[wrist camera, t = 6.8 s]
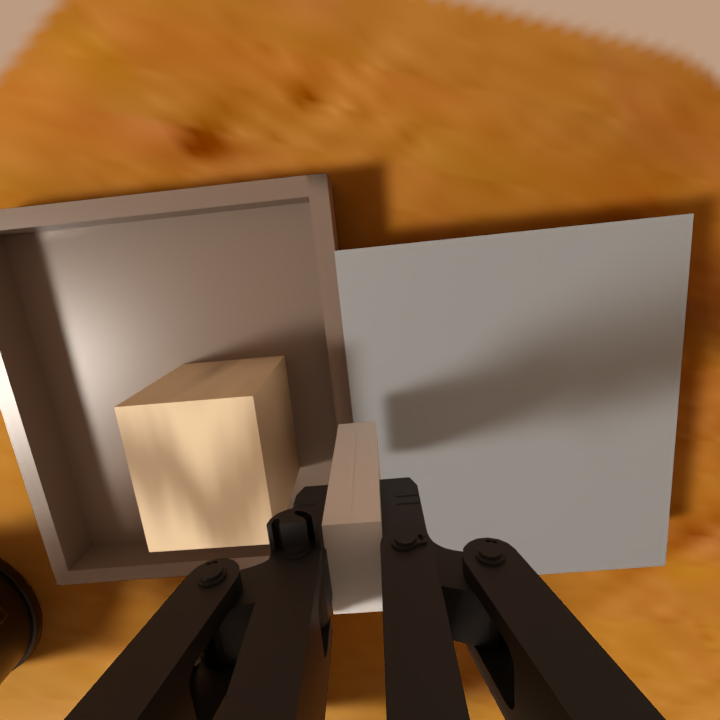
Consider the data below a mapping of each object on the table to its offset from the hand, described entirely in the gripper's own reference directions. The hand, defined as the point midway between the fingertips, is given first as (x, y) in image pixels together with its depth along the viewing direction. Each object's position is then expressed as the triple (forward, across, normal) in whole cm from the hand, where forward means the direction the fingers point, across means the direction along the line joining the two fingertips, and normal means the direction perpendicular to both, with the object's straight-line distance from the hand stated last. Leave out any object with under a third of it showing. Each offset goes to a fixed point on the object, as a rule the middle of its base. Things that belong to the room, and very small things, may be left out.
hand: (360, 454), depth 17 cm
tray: (+5, +8, -2) cm, 10 cm away
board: (+5, -7, 0) cm, 8 cm away
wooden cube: (+1, +4, 0) cm, 4 cm away
